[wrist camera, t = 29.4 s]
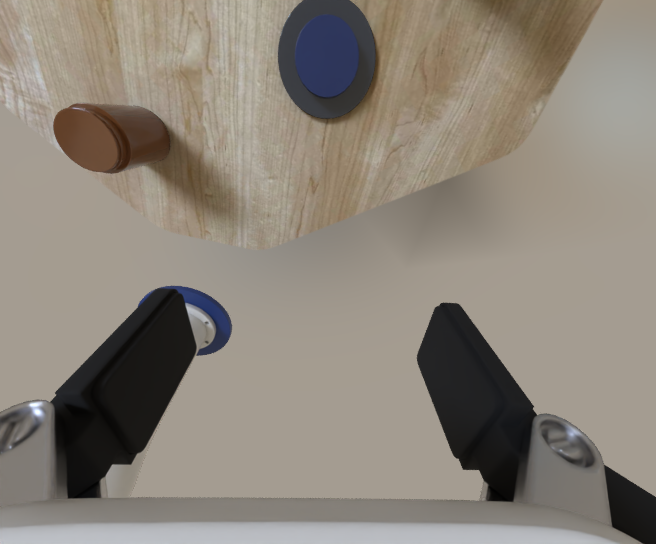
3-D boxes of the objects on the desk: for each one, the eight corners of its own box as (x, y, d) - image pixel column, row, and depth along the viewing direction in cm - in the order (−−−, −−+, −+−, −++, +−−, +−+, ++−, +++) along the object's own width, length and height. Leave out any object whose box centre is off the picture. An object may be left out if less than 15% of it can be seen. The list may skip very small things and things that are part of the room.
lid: (303, 7, 26) (302, 1, 25) (366, 33, 28) (369, 28, 26) (289, 87, 30) (288, 85, 28) (346, 107, 31) (347, 106, 30)
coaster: (357, 129, 33) (358, 129, 32) (272, 104, 31) (271, 103, 31) (389, 15, 27) (390, 13, 27) (287, -23, 26) (286, -25, 25)
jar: (171, 167, 35) (126, 183, 27) (121, 155, 34) (58, 167, 26) (168, 114, 32) (116, 113, 24) (112, 99, 31) (38, 92, 23)
